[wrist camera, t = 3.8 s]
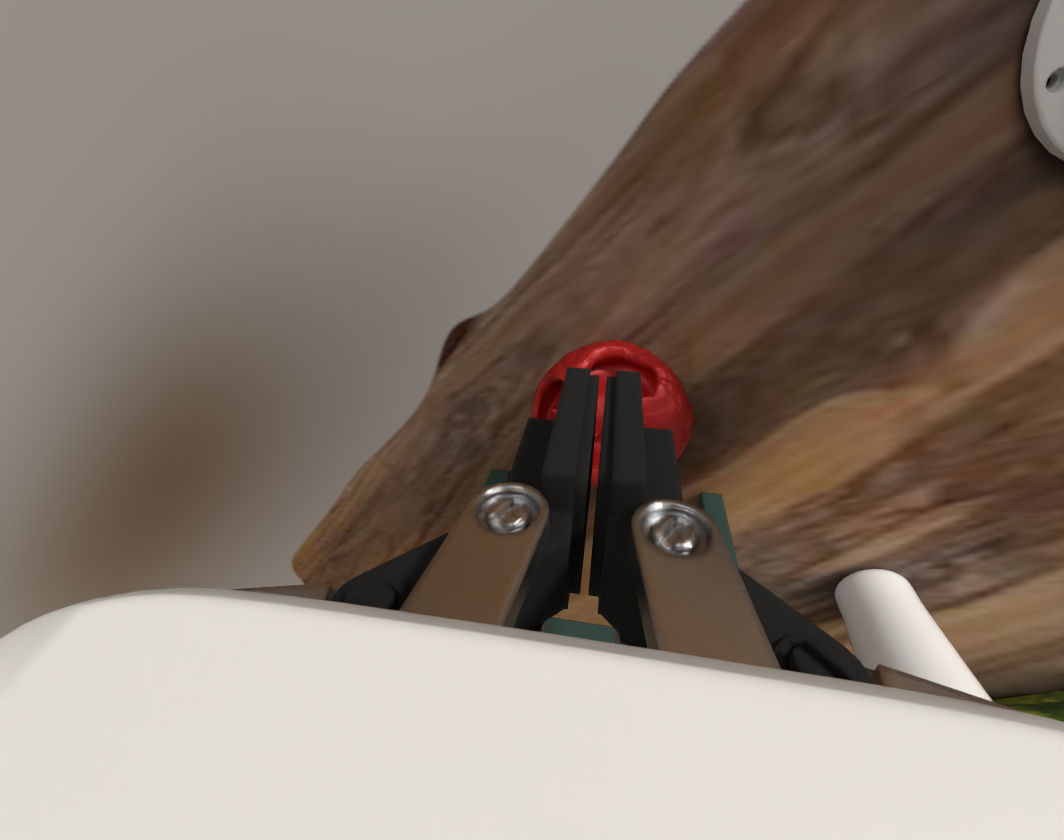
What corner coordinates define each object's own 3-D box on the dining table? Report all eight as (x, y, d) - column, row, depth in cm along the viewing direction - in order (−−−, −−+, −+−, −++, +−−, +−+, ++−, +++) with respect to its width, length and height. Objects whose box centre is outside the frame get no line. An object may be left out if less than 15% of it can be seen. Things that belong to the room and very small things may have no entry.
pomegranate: (705, 427, 33) (727, 521, 25) (575, 465, 36) (560, 557, 29) (655, 300, 29) (663, 366, 21) (515, 358, 32) (478, 432, 25)
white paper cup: (819, 614, 40) (902, 834, 28) (824, 560, 37) (920, 782, 25) (912, 614, 38) (1045, 850, 26) (925, 557, 35) (1085, 796, 23)
